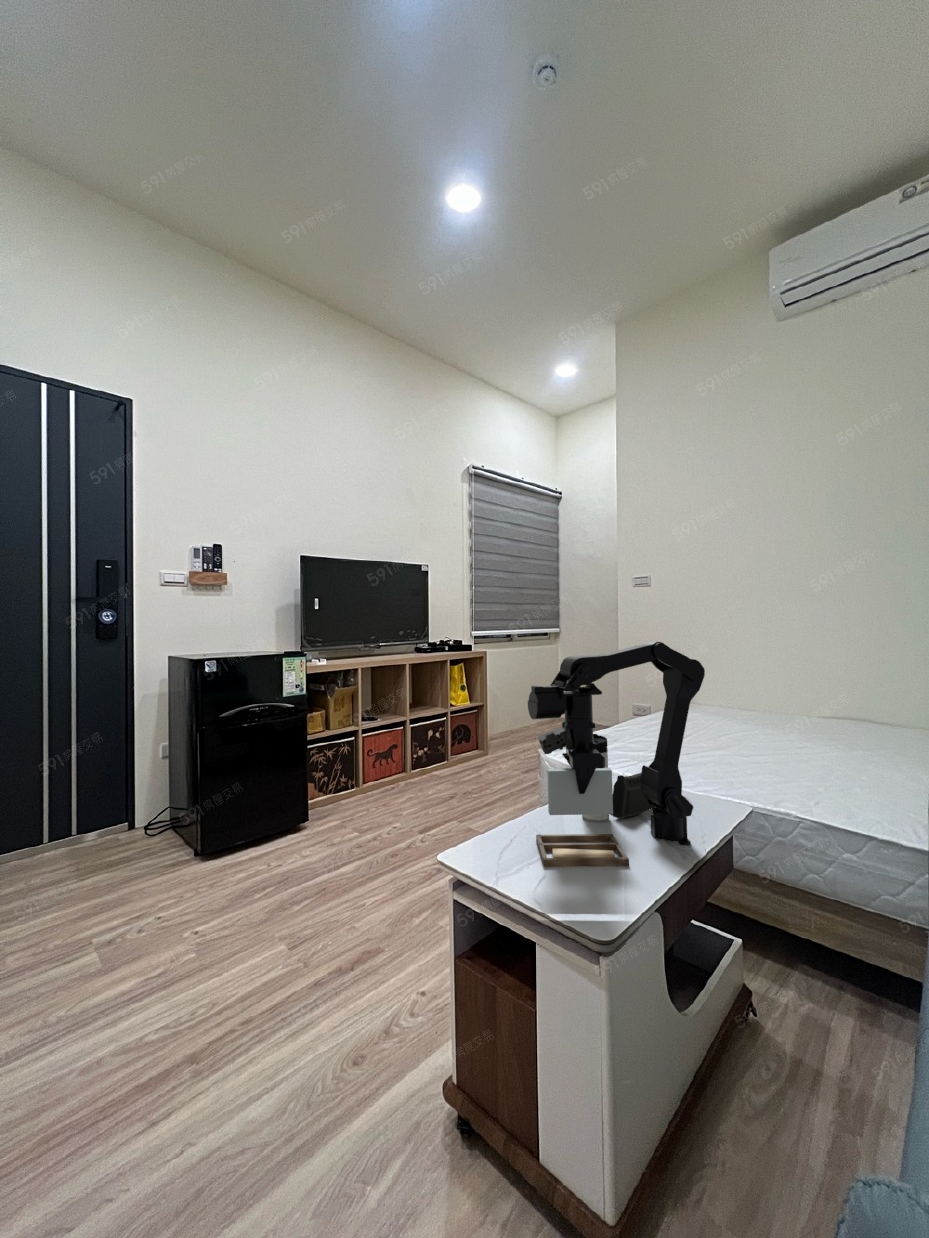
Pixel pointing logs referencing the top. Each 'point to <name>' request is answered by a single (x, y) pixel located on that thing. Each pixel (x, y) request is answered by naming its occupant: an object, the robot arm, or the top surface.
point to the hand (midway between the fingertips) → (580, 791)
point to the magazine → (628, 797)
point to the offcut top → (581, 853)
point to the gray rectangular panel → (567, 795)
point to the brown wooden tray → (581, 862)
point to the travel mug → (602, 749)
